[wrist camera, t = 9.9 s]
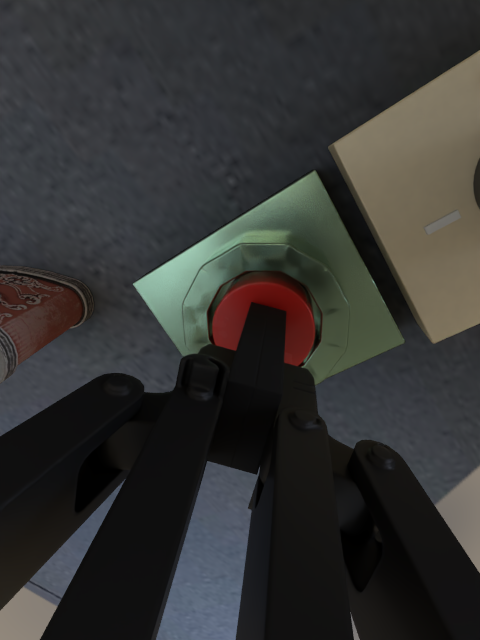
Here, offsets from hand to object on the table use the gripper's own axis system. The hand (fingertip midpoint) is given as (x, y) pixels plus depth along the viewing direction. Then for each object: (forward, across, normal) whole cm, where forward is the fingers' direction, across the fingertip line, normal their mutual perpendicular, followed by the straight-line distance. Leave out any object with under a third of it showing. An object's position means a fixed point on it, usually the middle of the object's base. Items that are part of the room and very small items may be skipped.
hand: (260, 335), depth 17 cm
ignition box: (+5, 0, 0) cm, 5 cm away
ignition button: (+2, 0, 0) cm, 2 cm away
